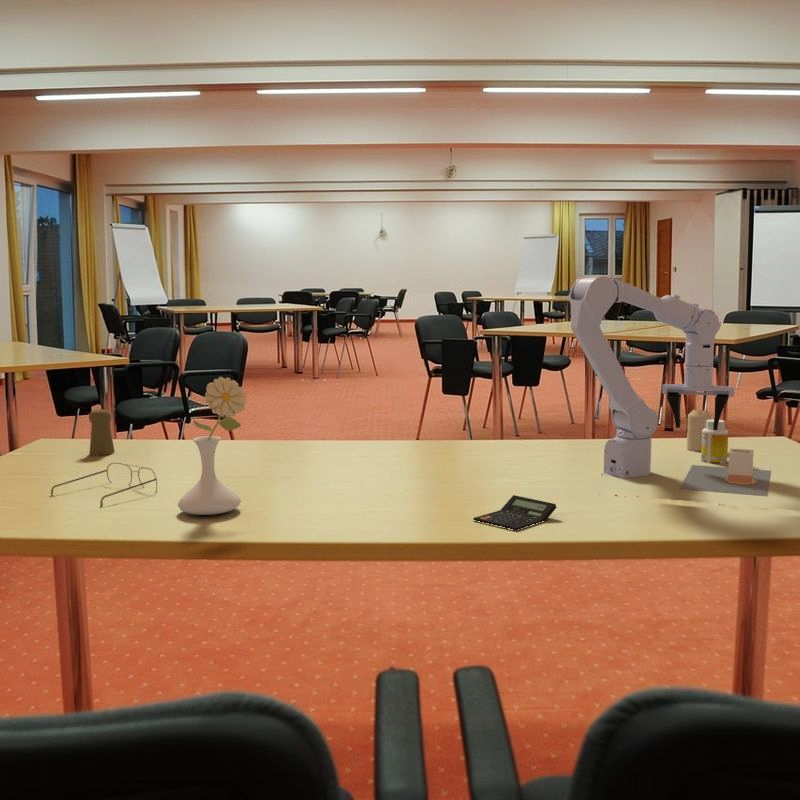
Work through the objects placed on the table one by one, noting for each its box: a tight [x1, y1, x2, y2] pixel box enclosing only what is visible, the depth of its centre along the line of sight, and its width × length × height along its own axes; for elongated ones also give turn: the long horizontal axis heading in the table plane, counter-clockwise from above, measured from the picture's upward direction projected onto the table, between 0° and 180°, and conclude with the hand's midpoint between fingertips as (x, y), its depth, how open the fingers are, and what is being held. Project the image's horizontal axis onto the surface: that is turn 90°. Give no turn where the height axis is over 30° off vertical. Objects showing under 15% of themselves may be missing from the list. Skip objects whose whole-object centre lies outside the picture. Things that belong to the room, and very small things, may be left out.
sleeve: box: [727, 448, 755, 483], centre depth 177 cm, size 4×4×6 cm
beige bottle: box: [686, 408, 713, 452], centre depth 215 cm, size 6×6×10 cm
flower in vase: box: [177, 376, 247, 516], centre depth 160 cm, size 13×11×25 cm
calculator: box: [473, 495, 557, 530], centre depth 155 cm, size 9×12×3 cm
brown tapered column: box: [88, 408, 116, 456], centre depth 218 cm, size 6×6×11 cm
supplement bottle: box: [700, 418, 729, 464], centre depth 197 cm, size 6×6×10 cm
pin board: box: [678, 464, 772, 497], centre depth 179 cm, size 24×16×5 cm, turn 156°
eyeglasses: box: [50, 462, 158, 506], centre depth 177 cm, size 16×15×5 cm
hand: (696, 428), depth 188 cm, fingers open, 7 cm apart
